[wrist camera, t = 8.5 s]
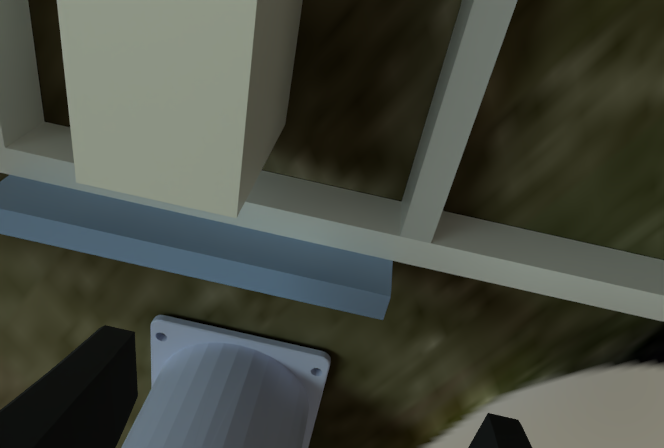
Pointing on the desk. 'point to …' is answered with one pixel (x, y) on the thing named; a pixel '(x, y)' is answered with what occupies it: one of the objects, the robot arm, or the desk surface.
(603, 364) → the desk surface
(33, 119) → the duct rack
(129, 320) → the desk surface
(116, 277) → the desk surface
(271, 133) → the cream rectangular block
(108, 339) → the robot arm
